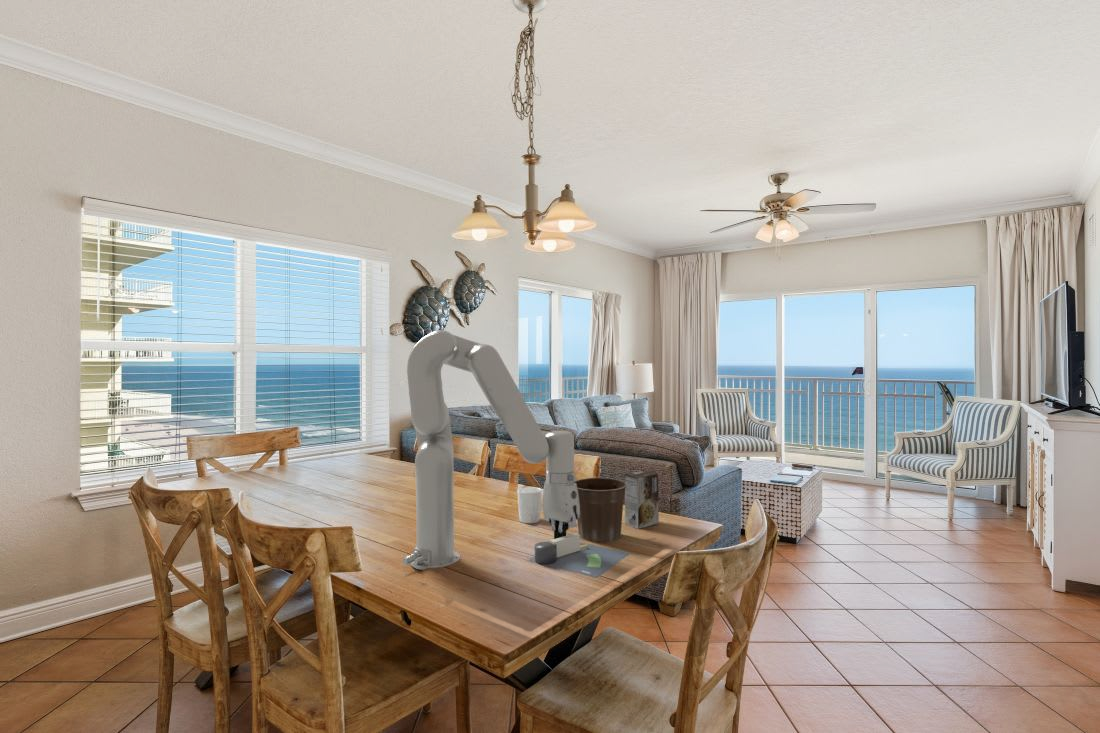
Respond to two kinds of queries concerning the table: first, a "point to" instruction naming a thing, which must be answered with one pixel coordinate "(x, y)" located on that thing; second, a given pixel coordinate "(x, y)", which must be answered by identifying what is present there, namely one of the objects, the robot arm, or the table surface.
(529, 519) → the white cup
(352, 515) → the table surface
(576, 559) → the board
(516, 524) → the table surface
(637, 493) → the coffee box
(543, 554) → the peg dial
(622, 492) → the plant pot
